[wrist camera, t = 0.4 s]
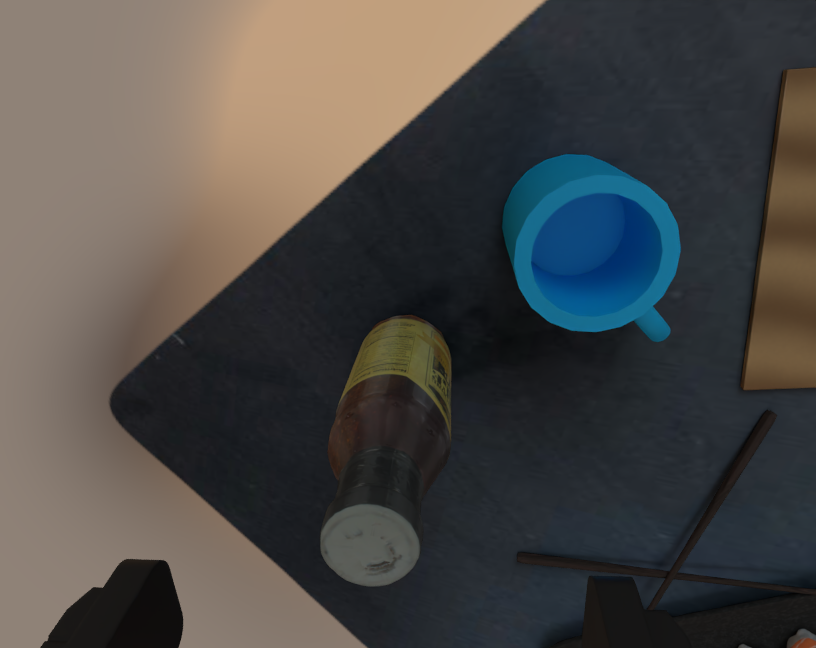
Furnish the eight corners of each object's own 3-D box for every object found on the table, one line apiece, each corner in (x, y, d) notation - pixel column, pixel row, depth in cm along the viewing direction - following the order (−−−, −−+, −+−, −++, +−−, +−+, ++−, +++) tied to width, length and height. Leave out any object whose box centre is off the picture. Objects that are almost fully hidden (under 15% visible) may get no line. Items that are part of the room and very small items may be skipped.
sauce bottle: (443, 396, 43) (436, 632, 25) (357, 383, 44) (286, 608, 25) (459, 312, 41) (462, 505, 23) (367, 298, 41) (296, 478, 23)
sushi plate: (572, 741, 56) (580, 786, 53) (472, 483, 46) (473, 517, 42) (919, 685, 51) (954, 731, 47) (892, 377, 40) (933, 406, 37)
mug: (475, 216, 38) (480, 250, 31) (581, 124, 36) (615, 137, 28) (590, 347, 41) (621, 408, 34) (696, 270, 39) (755, 318, 31)
